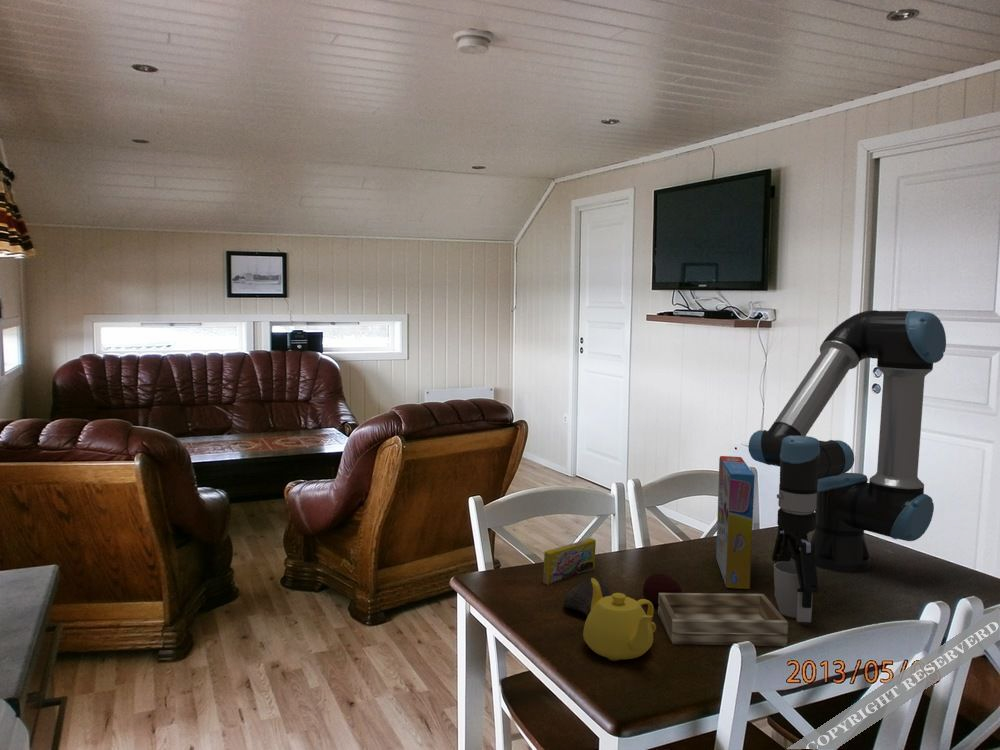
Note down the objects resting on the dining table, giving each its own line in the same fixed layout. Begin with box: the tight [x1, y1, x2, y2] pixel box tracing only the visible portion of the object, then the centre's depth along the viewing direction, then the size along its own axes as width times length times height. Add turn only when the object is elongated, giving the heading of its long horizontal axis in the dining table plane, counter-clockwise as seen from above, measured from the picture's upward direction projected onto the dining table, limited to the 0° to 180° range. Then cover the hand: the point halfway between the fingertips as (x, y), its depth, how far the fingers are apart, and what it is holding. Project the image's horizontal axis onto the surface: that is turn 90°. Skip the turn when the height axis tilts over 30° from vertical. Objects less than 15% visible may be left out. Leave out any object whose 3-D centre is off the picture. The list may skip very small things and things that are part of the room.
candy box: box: [542, 537, 597, 586], centre depth 178 cm, size 16×2×8 cm, turn 131°
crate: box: [657, 592, 789, 647], centre depth 150 cm, size 22×14×5 cm, turn 89°
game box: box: [715, 455, 756, 590], centre depth 181 cm, size 21×6×27 cm, turn 170°
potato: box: [642, 572, 683, 606], centre depth 163 cm, size 7×8×7 cm
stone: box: [563, 578, 612, 618], centre depth 158 cm, size 10×8×10 cm
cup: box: [773, 560, 800, 619], centre depth 159 cm, size 8×8×10 cm
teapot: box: [582, 577, 657, 662], centre depth 141 cm, size 20×15×12 cm
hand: (792, 608), depth 159 cm, fingers open, 12 cm apart
